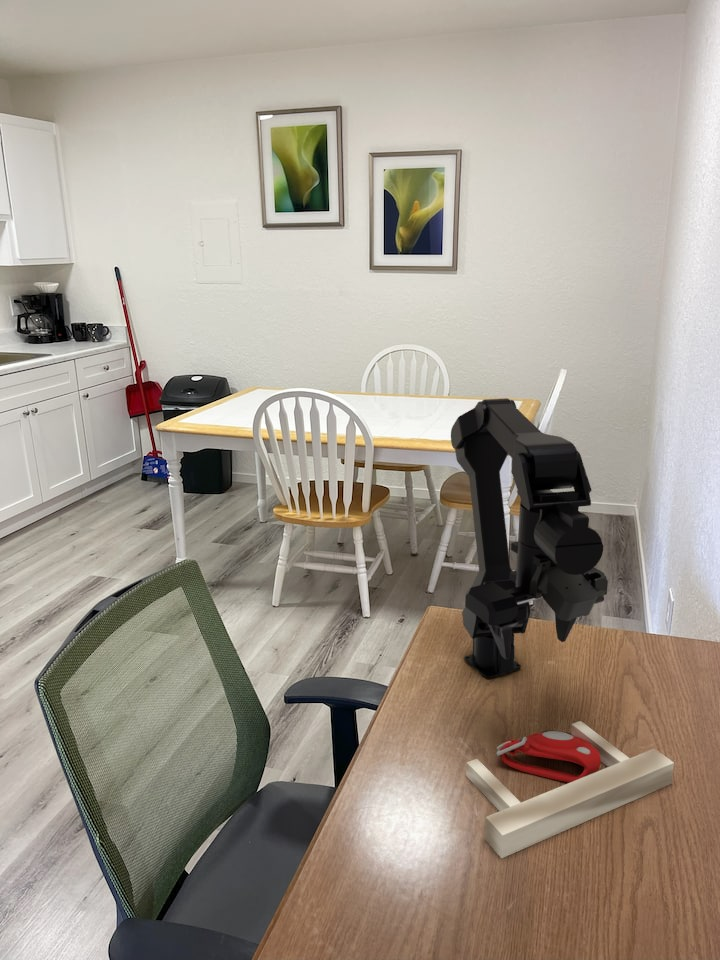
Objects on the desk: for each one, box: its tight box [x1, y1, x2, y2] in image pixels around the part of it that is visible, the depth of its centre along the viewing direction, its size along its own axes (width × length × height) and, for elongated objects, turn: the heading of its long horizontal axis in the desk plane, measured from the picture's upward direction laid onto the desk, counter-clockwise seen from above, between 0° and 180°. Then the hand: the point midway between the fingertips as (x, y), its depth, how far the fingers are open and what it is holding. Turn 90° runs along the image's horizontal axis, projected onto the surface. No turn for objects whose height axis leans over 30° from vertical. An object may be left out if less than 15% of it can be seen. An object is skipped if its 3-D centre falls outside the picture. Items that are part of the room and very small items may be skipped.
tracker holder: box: [495, 730, 602, 783], centre depth 92 cm, size 12×4×10 cm
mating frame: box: [465, 720, 675, 859], centre depth 88 cm, size 12×25×3 cm, turn 116°
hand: (533, 649), depth 97 cm, fingers open, 9 cm apart
